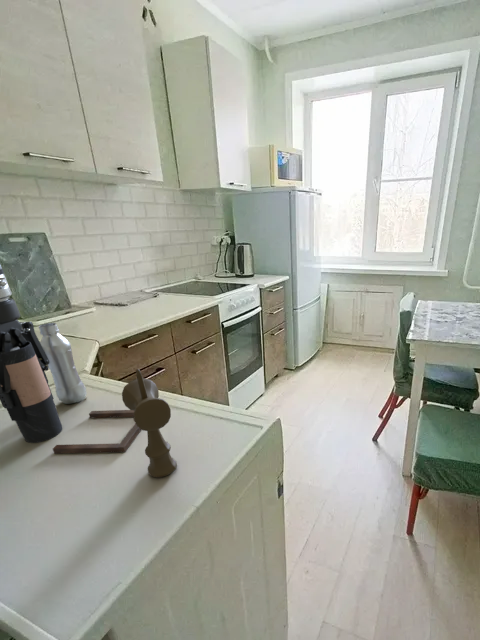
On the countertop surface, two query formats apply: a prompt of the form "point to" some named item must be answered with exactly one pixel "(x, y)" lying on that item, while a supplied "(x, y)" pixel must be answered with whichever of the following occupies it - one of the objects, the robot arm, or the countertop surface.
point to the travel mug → (32, 394)
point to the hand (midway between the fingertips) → (33, 409)
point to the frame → (103, 447)
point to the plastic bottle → (62, 365)
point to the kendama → (150, 422)
